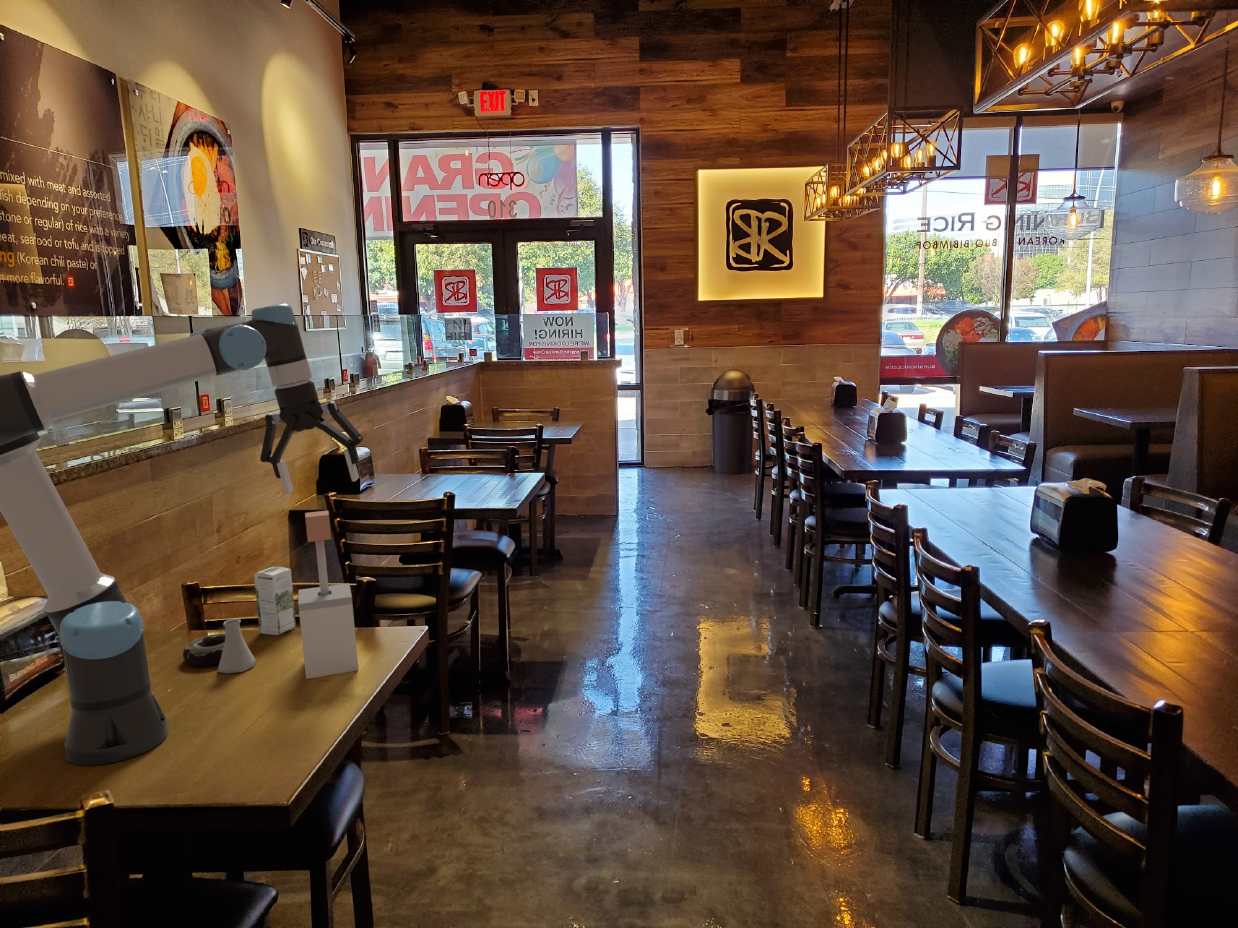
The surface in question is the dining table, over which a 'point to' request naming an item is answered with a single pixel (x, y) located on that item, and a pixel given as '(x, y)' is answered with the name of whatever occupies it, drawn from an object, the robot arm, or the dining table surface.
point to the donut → (205, 650)
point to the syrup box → (275, 600)
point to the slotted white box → (328, 631)
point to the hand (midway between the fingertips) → (322, 486)
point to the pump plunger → (319, 542)
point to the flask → (235, 650)
